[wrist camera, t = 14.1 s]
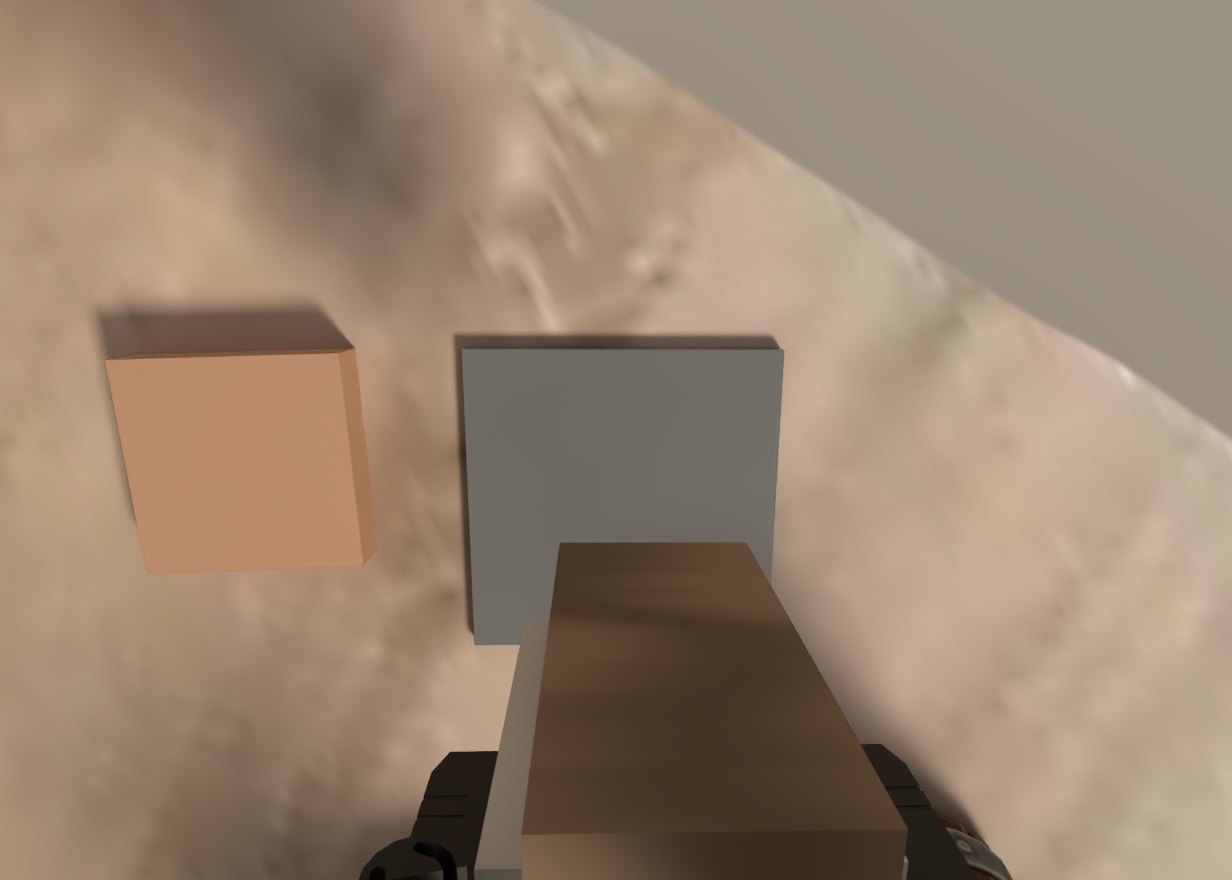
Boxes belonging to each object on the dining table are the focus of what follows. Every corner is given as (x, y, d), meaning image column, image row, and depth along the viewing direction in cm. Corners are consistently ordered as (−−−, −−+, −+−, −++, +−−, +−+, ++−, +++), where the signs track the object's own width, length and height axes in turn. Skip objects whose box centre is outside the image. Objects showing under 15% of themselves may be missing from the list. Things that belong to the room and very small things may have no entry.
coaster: (476, 638, 29) (474, 645, 29) (464, 347, 26) (461, 349, 26) (764, 635, 29) (767, 641, 29) (780, 348, 27) (784, 350, 26)
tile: (146, 574, 26) (104, 359, 24) (179, 552, 28) (143, 353, 26) (363, 566, 26) (338, 353, 25) (379, 544, 28) (358, 347, 27)
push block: (561, 785, 16) (531, 1251, 9) (559, 542, 15) (520, 835, 7) (732, 782, 16) (856, 1239, 9) (746, 541, 15) (907, 829, 7)
